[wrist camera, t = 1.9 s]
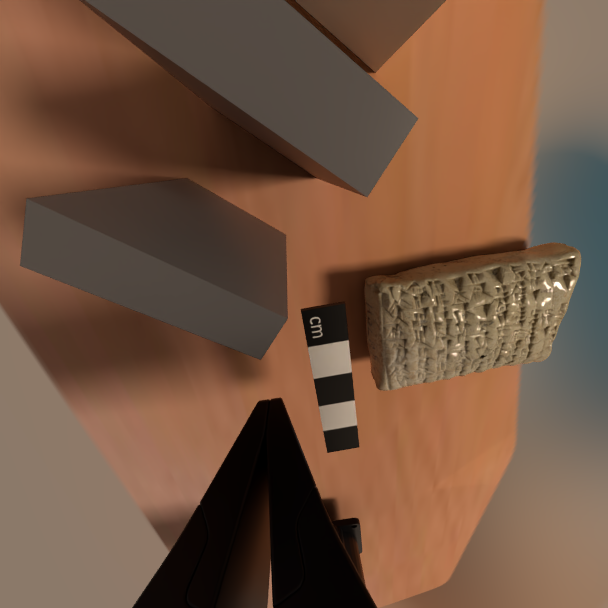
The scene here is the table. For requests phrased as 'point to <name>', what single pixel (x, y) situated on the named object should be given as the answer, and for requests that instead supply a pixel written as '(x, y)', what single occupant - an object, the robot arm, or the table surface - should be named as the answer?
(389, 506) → the table surface
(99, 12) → the domino
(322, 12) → the end domino
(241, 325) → the domino
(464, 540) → the table surface
